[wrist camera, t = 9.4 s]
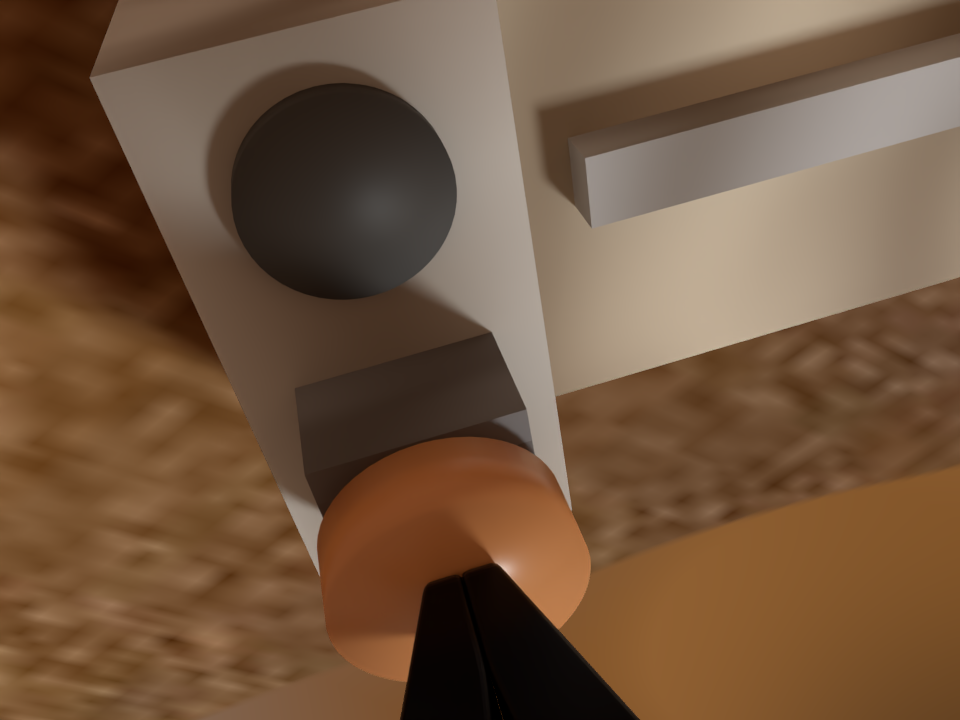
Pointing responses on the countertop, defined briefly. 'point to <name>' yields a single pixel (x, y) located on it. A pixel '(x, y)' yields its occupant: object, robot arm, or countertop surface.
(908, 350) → the countertop surface
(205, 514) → the countertop surface
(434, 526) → the button
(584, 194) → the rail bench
